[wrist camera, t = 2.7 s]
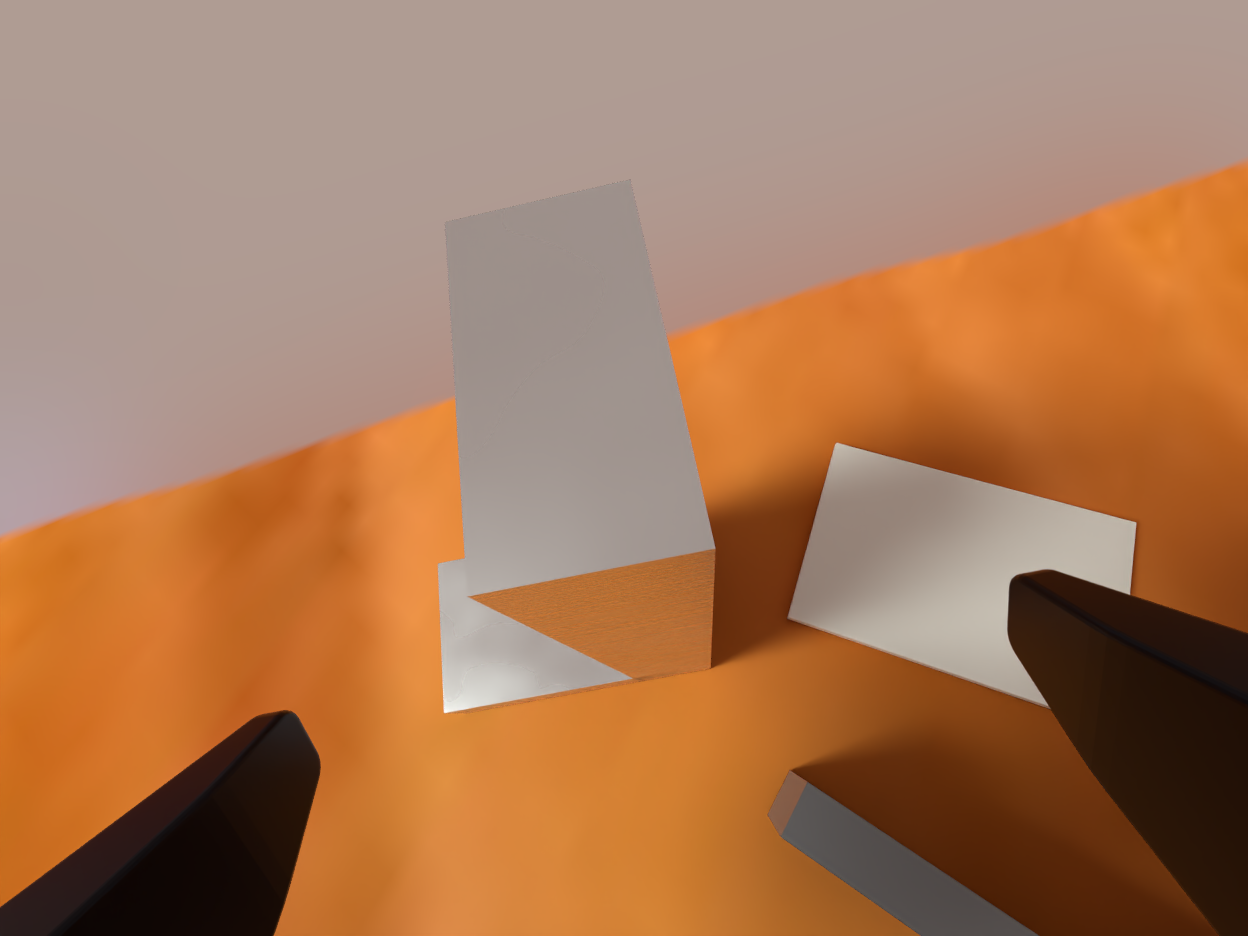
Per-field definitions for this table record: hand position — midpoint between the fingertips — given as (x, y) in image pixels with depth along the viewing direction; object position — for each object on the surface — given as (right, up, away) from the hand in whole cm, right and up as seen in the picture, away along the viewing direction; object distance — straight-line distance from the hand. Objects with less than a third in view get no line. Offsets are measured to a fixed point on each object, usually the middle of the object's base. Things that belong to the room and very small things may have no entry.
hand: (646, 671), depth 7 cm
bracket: (-2, -2, +10) cm, 10 cm away
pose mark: (+9, 0, +9) cm, 13 cm away
